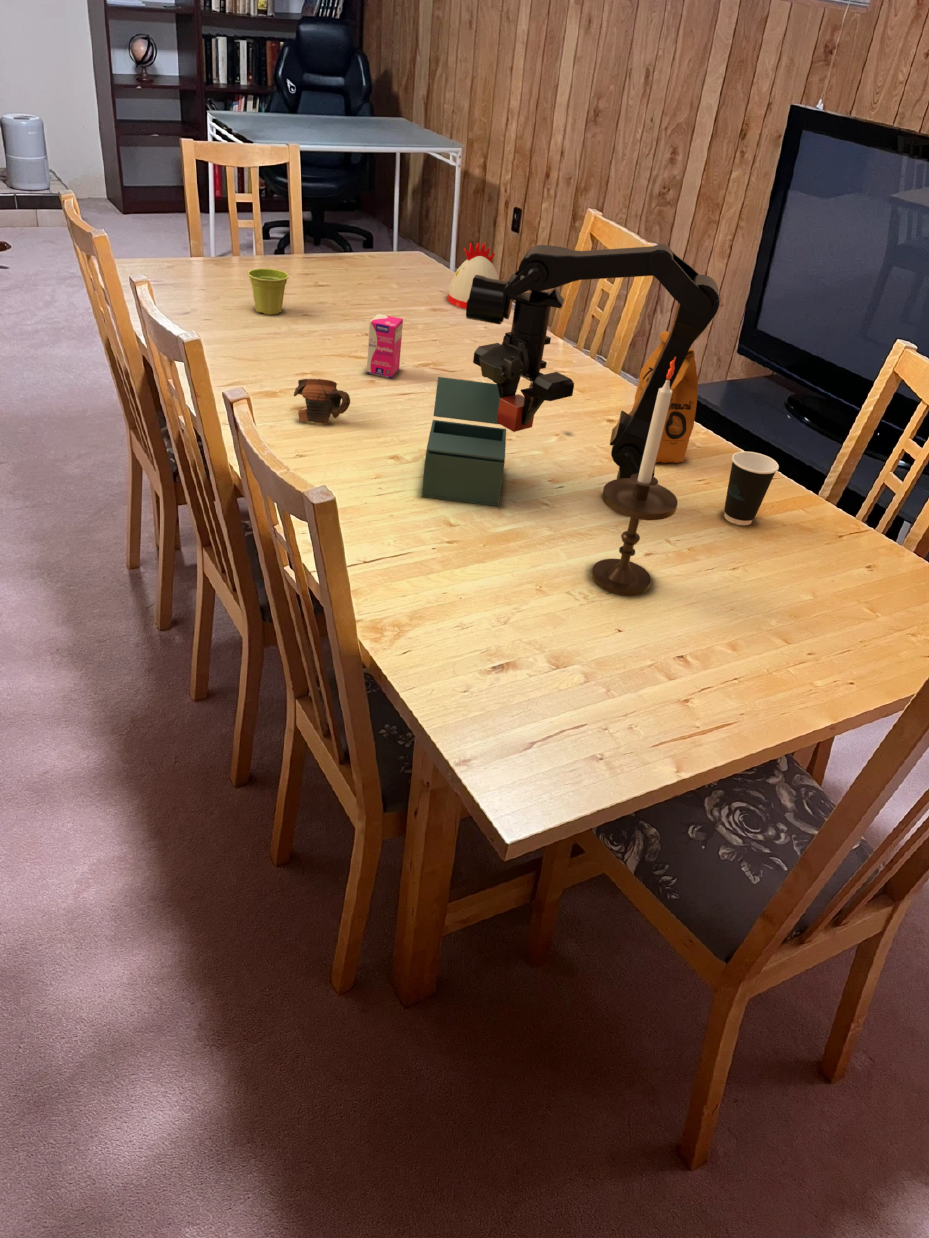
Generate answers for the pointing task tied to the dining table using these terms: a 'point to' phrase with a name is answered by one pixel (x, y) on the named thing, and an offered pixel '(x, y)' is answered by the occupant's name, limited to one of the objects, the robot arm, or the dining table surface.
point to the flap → (467, 400)
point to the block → (512, 413)
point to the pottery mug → (321, 400)
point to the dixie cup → (748, 485)
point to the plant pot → (268, 289)
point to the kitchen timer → (471, 274)
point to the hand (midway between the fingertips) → (515, 419)
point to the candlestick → (637, 507)
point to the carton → (464, 463)
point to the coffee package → (675, 405)
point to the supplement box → (384, 345)
